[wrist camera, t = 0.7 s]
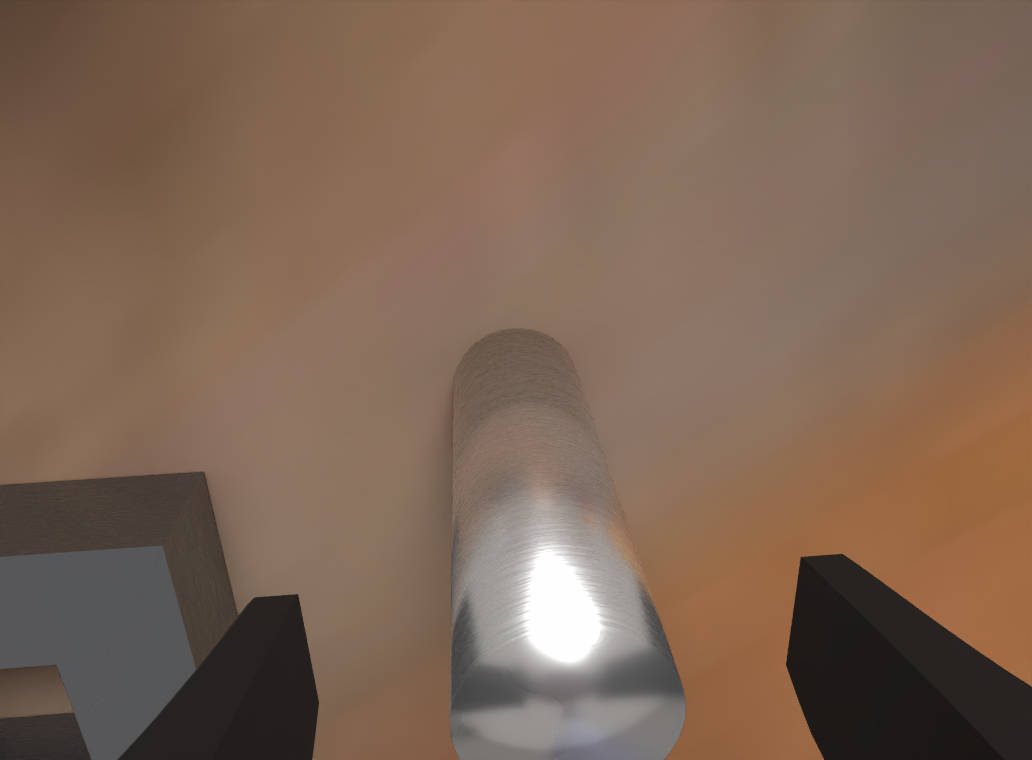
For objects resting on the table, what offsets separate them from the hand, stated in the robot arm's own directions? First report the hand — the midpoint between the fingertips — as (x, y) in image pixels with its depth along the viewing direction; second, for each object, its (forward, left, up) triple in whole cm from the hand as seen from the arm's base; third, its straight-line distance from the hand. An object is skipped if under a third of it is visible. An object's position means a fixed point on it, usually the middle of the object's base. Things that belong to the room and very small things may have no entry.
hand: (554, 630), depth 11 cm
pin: (0, 0, -8) cm, 8 cm away
